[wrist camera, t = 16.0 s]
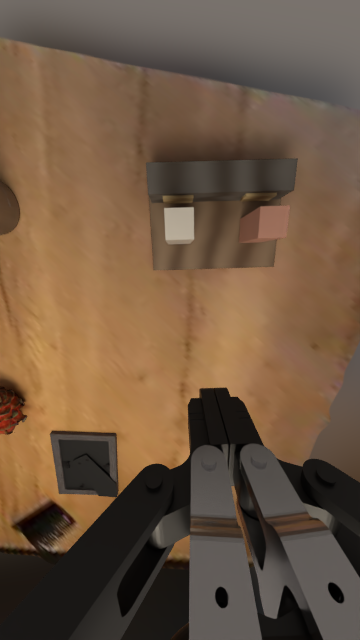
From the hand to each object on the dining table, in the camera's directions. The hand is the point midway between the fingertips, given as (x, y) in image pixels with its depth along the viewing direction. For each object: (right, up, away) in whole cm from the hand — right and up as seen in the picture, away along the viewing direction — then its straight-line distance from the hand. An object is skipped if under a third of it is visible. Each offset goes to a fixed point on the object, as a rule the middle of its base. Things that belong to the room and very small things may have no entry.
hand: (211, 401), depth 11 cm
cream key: (-2, +20, +25) cm, 32 cm away
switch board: (+4, +23, +25) cm, 35 cm away
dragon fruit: (-41, -15, +37) cm, 57 cm away
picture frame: (-27, -34, +43) cm, 61 cm away
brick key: (+11, +21, +25) cm, 34 cm away
